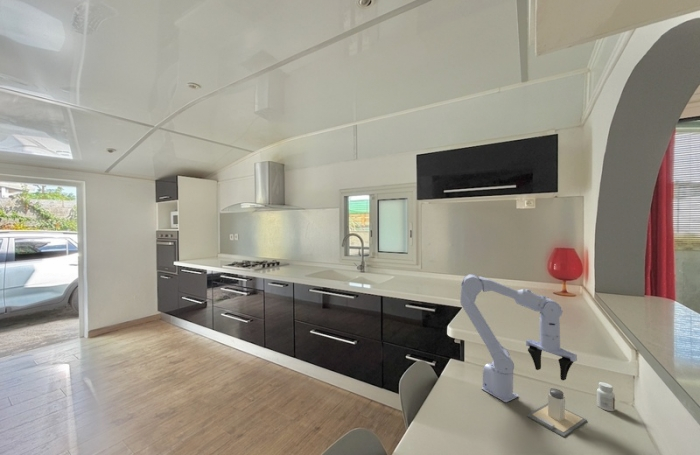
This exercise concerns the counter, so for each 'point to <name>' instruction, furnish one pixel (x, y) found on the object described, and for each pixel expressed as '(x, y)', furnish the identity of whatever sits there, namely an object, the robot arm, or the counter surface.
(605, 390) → the pill bottle
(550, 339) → the robot arm
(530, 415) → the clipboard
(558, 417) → the block with domed cap
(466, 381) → the counter surface
